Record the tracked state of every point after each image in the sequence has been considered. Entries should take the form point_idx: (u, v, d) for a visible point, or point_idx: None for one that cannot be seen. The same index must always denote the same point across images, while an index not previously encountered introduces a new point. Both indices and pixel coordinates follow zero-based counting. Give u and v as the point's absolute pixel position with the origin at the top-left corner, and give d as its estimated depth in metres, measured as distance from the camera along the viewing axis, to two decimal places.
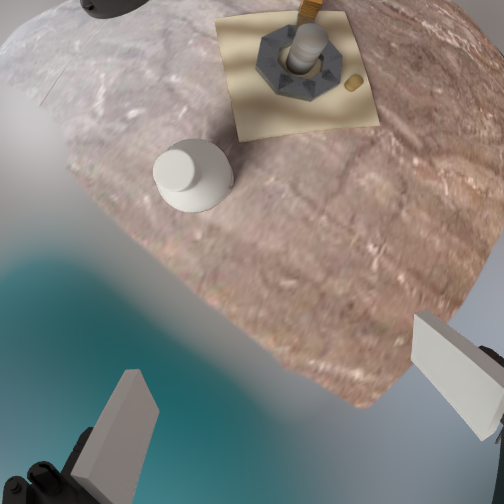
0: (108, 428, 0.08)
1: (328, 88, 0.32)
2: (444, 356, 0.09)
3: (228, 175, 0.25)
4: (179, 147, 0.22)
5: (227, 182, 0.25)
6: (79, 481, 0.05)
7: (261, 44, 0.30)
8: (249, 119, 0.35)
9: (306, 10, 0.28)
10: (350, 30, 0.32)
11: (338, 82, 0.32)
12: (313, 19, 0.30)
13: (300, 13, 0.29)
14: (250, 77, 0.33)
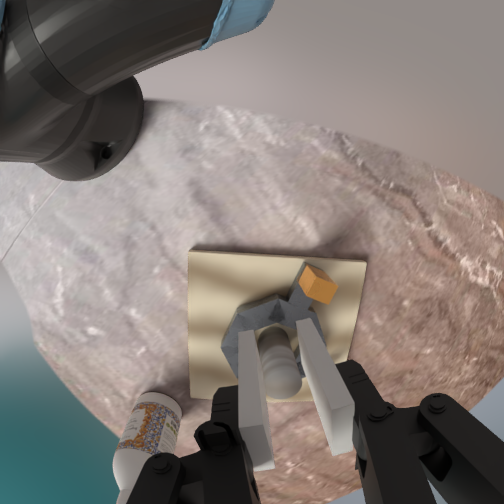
0: (254, 379, 0.10)
1: None
2: (309, 365, 0.11)
3: None
4: (129, 476, 0.21)
5: None
6: (246, 433, 0.08)
7: (234, 323, 0.30)
8: (204, 384, 0.34)
9: None
10: (359, 295, 0.32)
11: None
12: None
13: None
14: (214, 346, 0.33)
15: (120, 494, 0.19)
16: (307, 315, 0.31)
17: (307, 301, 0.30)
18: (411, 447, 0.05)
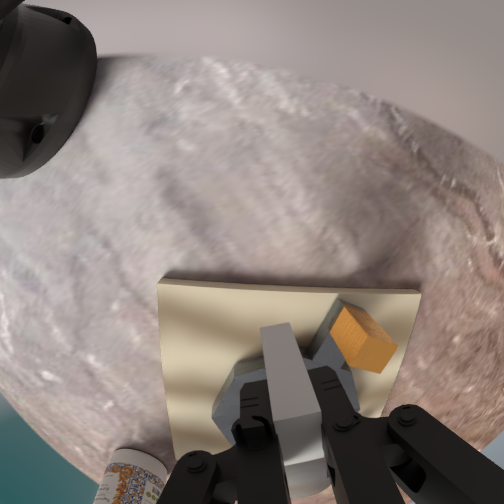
0: (282, 373, 0.10)
1: None
2: None
3: None
4: None
5: None
6: (280, 427, 0.08)
7: (230, 390, 0.19)
8: (192, 448, 0.23)
9: None
10: (407, 338, 0.21)
11: None
12: None
13: None
14: (203, 409, 0.22)
15: None
16: (339, 375, 0.19)
17: (340, 357, 0.19)
18: (380, 456, 0.06)
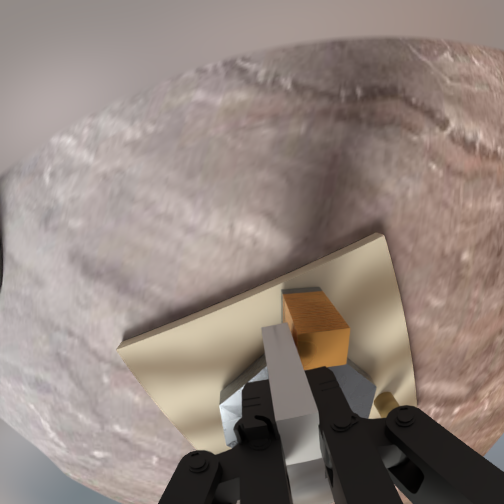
0: (284, 372, 0.10)
1: None
2: None
3: None
4: None
5: None
6: (282, 426, 0.08)
7: (223, 417, 0.18)
8: None
9: None
10: (395, 288, 0.18)
11: None
12: None
13: None
14: (224, 438, 0.21)
15: None
16: (326, 366, 0.17)
17: None
18: (378, 457, 0.06)
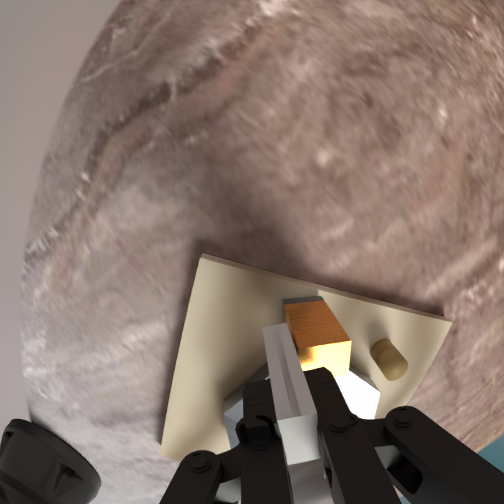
0: (285, 372, 0.10)
1: None
2: None
3: None
4: None
5: None
6: (283, 426, 0.08)
7: (228, 425, 0.18)
8: None
9: None
10: (264, 279, 0.17)
11: None
12: None
13: None
14: None
15: None
16: None
17: None
18: (377, 457, 0.06)
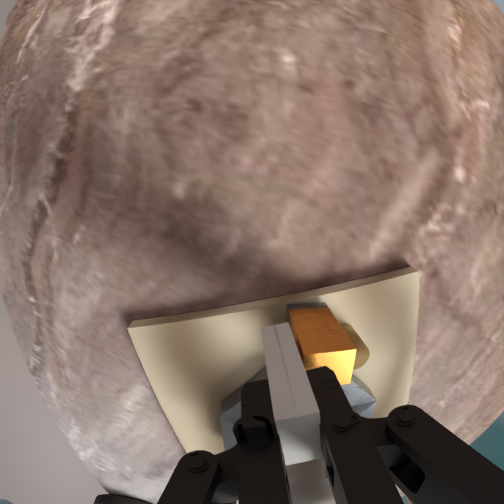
0: (283, 372, 0.10)
1: None
2: None
3: None
4: None
5: None
6: (281, 426, 0.08)
7: (224, 427, 0.17)
8: None
9: None
10: (183, 324, 0.18)
11: None
12: None
13: None
14: None
15: None
16: None
17: None
18: (379, 457, 0.06)
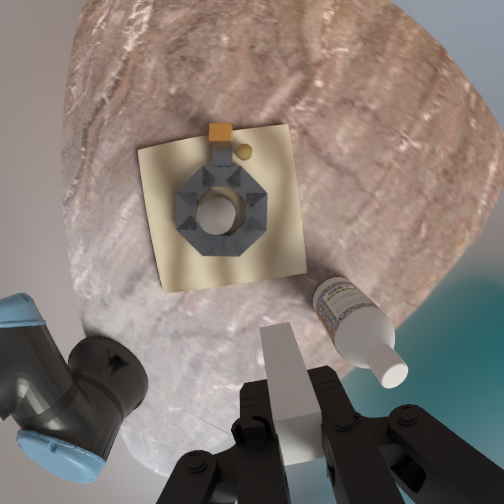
0: (282, 373, 0.10)
1: (254, 240, 0.36)
2: None
3: (374, 313, 0.28)
4: (354, 356, 0.27)
5: (379, 313, 0.28)
6: (280, 427, 0.08)
7: (177, 202, 0.35)
8: (286, 262, 0.39)
9: (218, 144, 0.32)
10: (165, 145, 0.35)
11: (264, 230, 0.36)
12: (230, 149, 0.33)
13: (213, 145, 0.33)
14: (239, 260, 0.38)
15: None
16: (234, 170, 0.34)
17: (228, 158, 0.34)
18: (380, 456, 0.06)
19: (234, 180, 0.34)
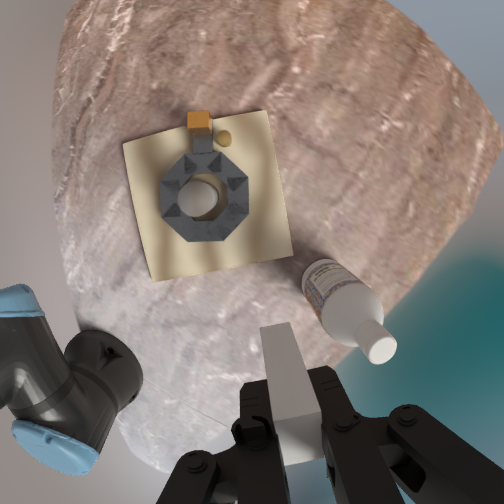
0: (282, 372, 0.10)
1: (237, 224, 0.36)
2: None
3: (360, 288, 0.28)
4: (341, 334, 0.27)
5: (365, 289, 0.28)
6: (280, 427, 0.08)
7: (161, 190, 0.35)
8: (271, 246, 0.39)
9: (197, 132, 0.32)
10: (149, 137, 0.35)
11: (247, 213, 0.36)
12: (210, 136, 0.34)
13: (194, 134, 0.33)
14: (225, 245, 0.39)
15: None
16: (214, 156, 0.34)
17: (208, 145, 0.34)
18: (380, 456, 0.06)
19: (215, 166, 0.35)
